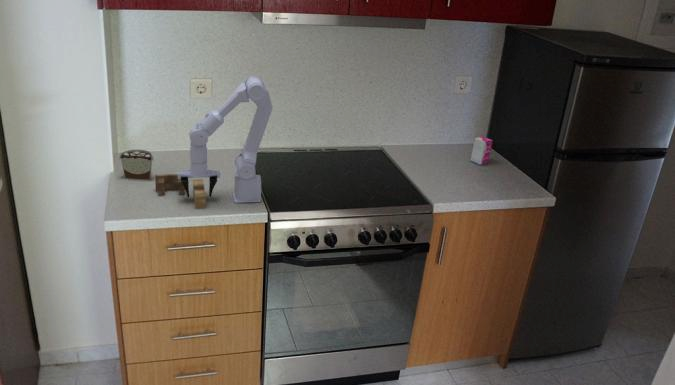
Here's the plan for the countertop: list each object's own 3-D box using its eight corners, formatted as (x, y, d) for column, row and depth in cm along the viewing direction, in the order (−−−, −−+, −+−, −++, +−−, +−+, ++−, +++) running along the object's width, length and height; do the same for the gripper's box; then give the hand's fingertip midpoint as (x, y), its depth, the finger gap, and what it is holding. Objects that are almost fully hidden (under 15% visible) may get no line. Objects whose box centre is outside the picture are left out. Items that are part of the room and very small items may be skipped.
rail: (193, 191, 220) (192, 179, 217) (202, 191, 221) (202, 178, 218) (195, 209, 207) (195, 196, 205) (205, 208, 208) (205, 195, 206)
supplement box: (480, 166, 267) (484, 141, 262) (469, 161, 271) (474, 137, 266) (488, 163, 270) (493, 139, 266) (478, 159, 274) (482, 135, 270)
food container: (158, 174, 230) (157, 150, 226) (154, 180, 225) (153, 156, 220) (125, 172, 229) (123, 147, 225) (120, 178, 224) (118, 153, 220)
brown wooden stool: (187, 188, 221) (186, 173, 218) (187, 194, 216) (187, 179, 214) (155, 189, 218) (155, 174, 215) (155, 195, 213) (154, 180, 211)
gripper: (219, 155, 213) (219, 190, 218) (176, 156, 209) (178, 191, 214) (220, 163, 206) (220, 198, 212) (177, 164, 203) (178, 200, 208)
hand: (199, 195), depth 213 cm, fingers open, 7 cm apart
